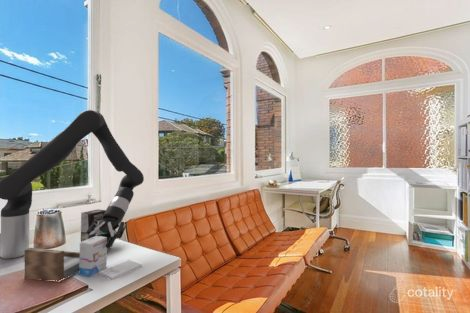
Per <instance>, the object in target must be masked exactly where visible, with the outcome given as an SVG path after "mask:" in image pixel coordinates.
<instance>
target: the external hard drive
mask: <svg viewBox="0 0 470 313" xmlns="http://www.w3.org/2000/svg"><path fill="white" fill-rule="evenodd" d="M142 267H143V265H142V263H140V262H137V261H134V260H131V259H127V260H125V261H122V262H120V263H118V264H115V265H113V266H110V267H108V268H106V269H102V270H100V271H98V275H100V276H102V277H105V278H106V279H109V280H111V281H113V280H116V279H118V278H120V277H122V276H125V275H128V274H129V273H131V272H133V271H136V270H138V269H140V268H142Z"/></svg>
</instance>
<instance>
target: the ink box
mask: <svg viewBox="0 0 470 313" xmlns="http://www.w3.org/2000/svg"><path fill="white" fill-rule="evenodd" d="M106 244H107V237H102V236H95V237H92V238H90V239H87V240H85V241H82V242H81V241H80V243H79V252H80V260H79V271H78V275H79V276H86V277H92V276H93V275H95V274H97V273H99V272H100V271H102V270H104V268H106V267H107V258H108V257H107V254H108V253H107V252H108V251H107V250H108V249H107V247H106Z"/></svg>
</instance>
